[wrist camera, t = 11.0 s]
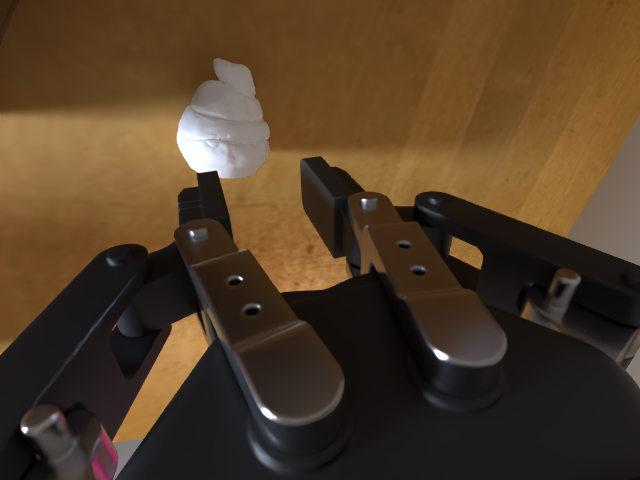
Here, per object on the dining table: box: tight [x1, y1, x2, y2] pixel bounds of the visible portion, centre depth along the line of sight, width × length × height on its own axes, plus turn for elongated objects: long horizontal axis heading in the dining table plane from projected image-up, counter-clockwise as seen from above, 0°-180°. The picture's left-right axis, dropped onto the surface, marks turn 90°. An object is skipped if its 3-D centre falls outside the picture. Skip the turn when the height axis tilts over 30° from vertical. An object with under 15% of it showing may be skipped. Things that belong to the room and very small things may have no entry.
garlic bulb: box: [177, 58, 270, 179], centre depth 23 cm, size 6×6×6 cm
